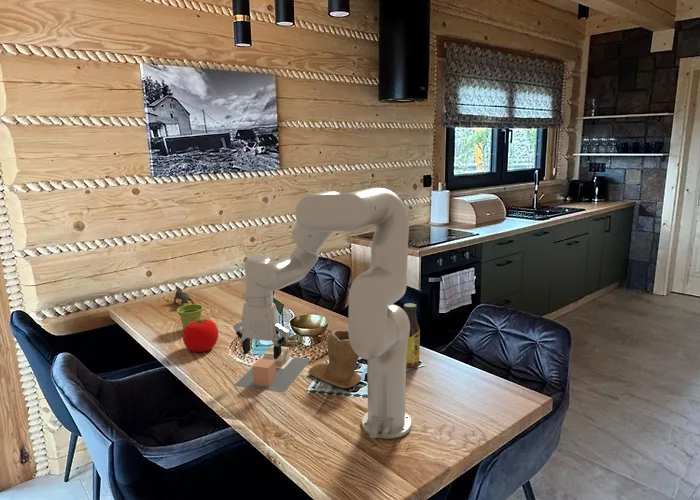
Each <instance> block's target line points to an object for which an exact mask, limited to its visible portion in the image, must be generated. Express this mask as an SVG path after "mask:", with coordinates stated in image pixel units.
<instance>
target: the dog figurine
mask: <svg viewBox="0 0 700 500" xmlns="http://www.w3.org/2000/svg"><path fill="white" fill-rule="evenodd" d="M175 289H176V292H175V294H174V297H173V302H172V303H173V305H176V301H177V300H179V301H180V300H181V302H180V307H181V306H184V303H187V304H188V303H189V301H190V304H196V303H195V301H194V300H193V299H192V298H190V295H189V293H188V292H184V291H183V289H181V288H180V287H179V286H176V287H175Z"/></svg>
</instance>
